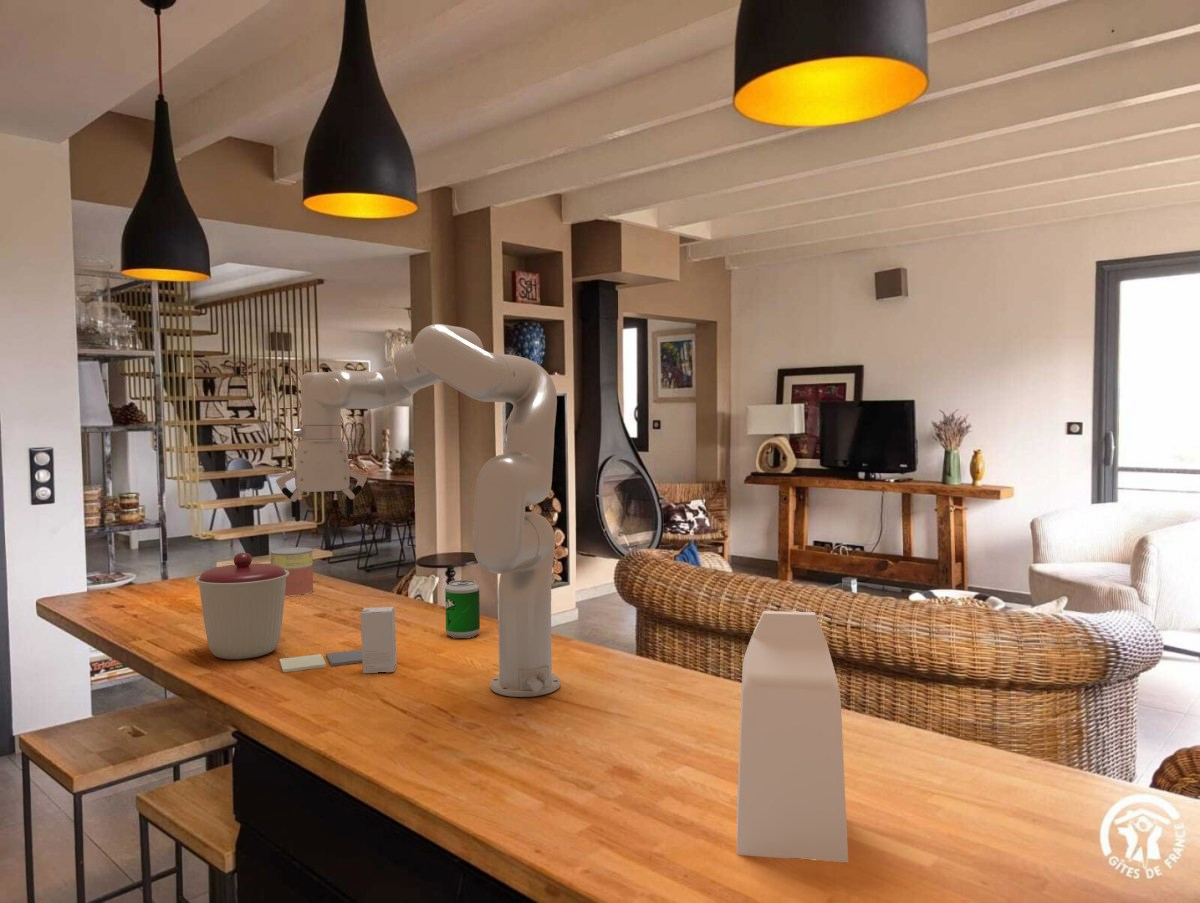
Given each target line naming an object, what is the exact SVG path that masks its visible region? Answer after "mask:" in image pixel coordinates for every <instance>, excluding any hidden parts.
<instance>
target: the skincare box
mask: <svg viewBox="0 0 1200 903" xmlns="http://www.w3.org/2000/svg"><path fill="white" fill-rule="evenodd" d="M359 614H360V617H359V618H360V631H361V632H360V634H361V649H362V660H363V663H362V673H363V674H379V673H378V672H386V673H394V672H395V671H396V669H397V667H398V663H397V662H398V661H397V658H398V657H397V640H396V637H397V635H396V618H395V616H396V615H395V614H396V612H395V606H383V607H382V606H379V607H376V606H373V607H364V608H363V609H362V610H361V612H360V613H359Z"/></svg>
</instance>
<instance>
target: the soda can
mask: <svg viewBox="0 0 1200 903" xmlns="http://www.w3.org/2000/svg"><path fill="white" fill-rule="evenodd" d="M444 589H445V591H444V592H445V593H444V594H445V597H444V598H445V599H444V600H445V632H446V634H447V635H448V636H449V637H450V636H451V637H454V638H453V639H455V638H467V639H471V637H472V638H474V636H475V637H476V636H477V634H479V632H480V630H481V626H480V625H481V623H480V622H481V618H480V616H481V615H480V610H481V609H480V604H481V603H480V586H479V585H478V584H477V583H476V581H475V580H472V579H471V580H470V579H459V580H453V581H449V582H448V584H447V585H446V587H445V588H444ZM451 637H450V638H451Z"/></svg>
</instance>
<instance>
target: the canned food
mask: <svg viewBox="0 0 1200 903" xmlns="http://www.w3.org/2000/svg"><path fill="white" fill-rule="evenodd" d="M313 551H314V550H313V548H311V547H304V546H303V547H298V546H297V547H293V546H292V547H282V548H275V549H272V550H270V551H269V553H270V564H273V565H277V566H280V567H282V568H283V569H284V570H287V571H289V576H288V577H286V586H285V596H290V595H300V594H306V593H310V592H312V591H313V590H314V569H313V568H314V567H313V564H314V563H313V560H314V559H313V557H314V556H313ZM313 592H314V591H313ZM313 592H312V593H313ZM310 594H311V593H310Z"/></svg>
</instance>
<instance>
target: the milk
mask: <svg viewBox="0 0 1200 903" xmlns="http://www.w3.org/2000/svg"><path fill="white" fill-rule="evenodd" d="M819 621H820V620H819V619H818V617H817V614H816V612H815V611H814V612H811V611H785V610H784V611H783V610H781V611H777V610H763V611H762V613H761V615H760V618H759V619H758V621H757V624H756V626H755V628H754V630H753V633H752V635H751V637H750V640H749V643H748V645H747V648H746V651H745V654H744V657H743V661H742V670H741V671H742V672H741V673H742V674H741V695H740V697H741V698H740V700H741V701H740V724H739V725H740V726H739V741H738V742H739V744H738V745H739V748H738V750H739V751H738V766H737V767H738V771H737V794H736V795H737V796H736V855H737V856H750V857H762V858H764V857H765V858H775V859H776V858H778V859H779V858H780V859H789V858H804V859H816V860H815V861H817V860H827V861H826V862H830V861H836V862H835V863H844V862H848V863H849V853H848V852H849V848H848V830H847V829H848V828H847V826H848V825H847V809H846V808H847V807H846V784H845V767H844V766H845V762H844V744H843V743H844V742H843V739H844V738H843V725H842V724H843V723H842V722H843V721H842V717H843V716H842V702H841V692H840V686H839V683H838V682H839V681H838V678H837V674H836V671H835V667H834V666H835V665H834V663H833V660H832V656H831V652H830V649H829V646H828V642H827V639H826V636H825V634H824V630H823V629H822V627H821V624H820V622H819ZM837 861H838V862H837Z"/></svg>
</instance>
